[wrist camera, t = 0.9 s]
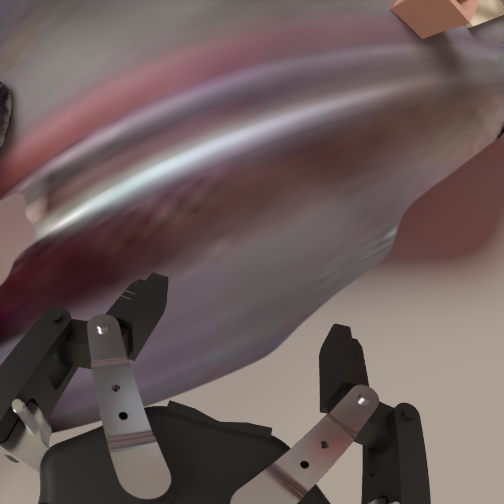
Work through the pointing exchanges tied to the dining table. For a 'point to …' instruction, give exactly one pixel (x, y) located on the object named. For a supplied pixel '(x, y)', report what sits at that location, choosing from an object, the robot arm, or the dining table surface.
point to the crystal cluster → (4, 111)
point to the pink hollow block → (434, 14)
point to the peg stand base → (486, 12)
